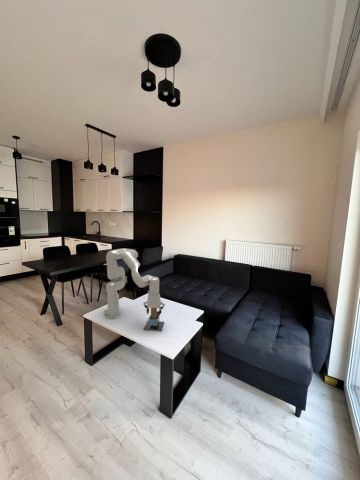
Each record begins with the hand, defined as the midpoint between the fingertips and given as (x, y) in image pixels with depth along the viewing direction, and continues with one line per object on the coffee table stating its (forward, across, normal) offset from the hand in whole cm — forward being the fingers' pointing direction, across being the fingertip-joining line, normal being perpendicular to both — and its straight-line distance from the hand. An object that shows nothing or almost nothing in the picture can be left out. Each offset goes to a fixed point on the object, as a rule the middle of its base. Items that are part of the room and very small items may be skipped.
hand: (153, 313), depth 154 cm
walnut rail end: (+7, 0, 0) cm, 7 cm away
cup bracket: (+12, 0, +2) cm, 12 cm away
